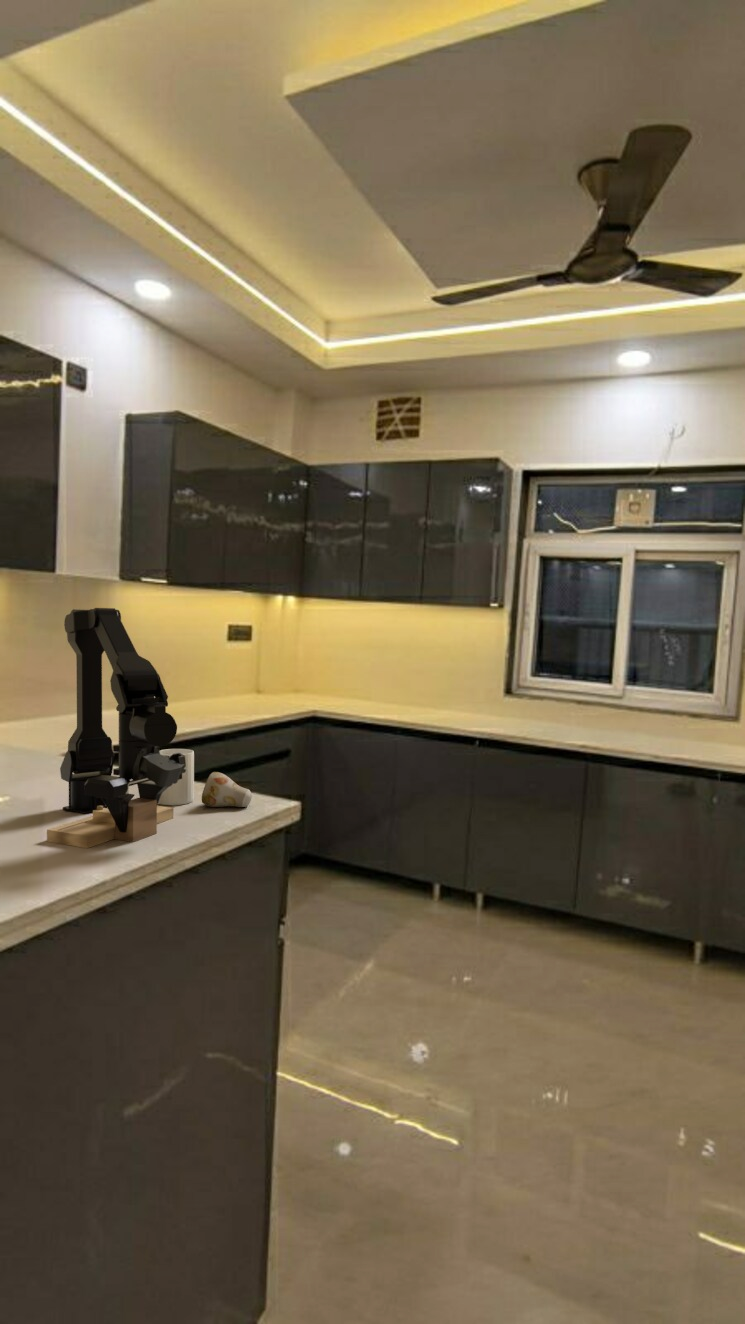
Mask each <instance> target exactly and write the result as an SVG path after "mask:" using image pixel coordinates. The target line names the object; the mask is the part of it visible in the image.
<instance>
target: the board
mask: <svg viewBox="0 0 745 1324" xmlns="http://www.w3.org/2000/svg"><path fill="white" fill-rule="evenodd" d="M171 819H172V820H173V819H174V807H170V806H165V805H162V806H161V805H157V824H161V823H163V822H167V821H169V820H171ZM112 840H116V839H115V824H111V823H105V822H98V821H93V815H90V816H89V817H84V818H81V819H77V820H75V821H71V822H67V823H65V824H62V825H57V826H54V827H51V828H48V829H46V842H50V843H54V844H55V843H56V844H62V845H66V846H67V845H68V846H73V847H78V848H83V849H89V848H92V847H95V846H98V845H100V844H103V843H106V842H109V841H112Z"/></svg>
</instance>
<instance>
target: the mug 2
mask: <svg viewBox="0 0 745 1324" xmlns="http://www.w3.org/2000/svg"><path fill="white" fill-rule="evenodd" d="M175 753H181V754H183V755H185V761H186V766H185V769H186V772H185V773H182V779H180V780H178V781H177V783H176V784H174V783H173V784H172V786H170V787H168V788H167V789H166V790H165V791H164V792H163V793H162V794H161V797H160V799H159V802H158V805H160V806H161V805H162V806H182V805H186V804H190V803H193V801H194V800H195V798H194V797H195V795H194V794H195V783H194V782H195V752H194V750H193V749H188V748H187V749H186V748H168V749H167V748H166V749H161V750H160V754H161V755H163V756H167V755H168V756H169V757H170V756H171V755H172V754H175Z"/></svg>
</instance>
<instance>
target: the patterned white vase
mask: <svg viewBox="0 0 745 1324" xmlns="http://www.w3.org/2000/svg"><path fill="white" fill-rule="evenodd" d="M252 798H253V795H252V792H251V790H250V789H248V788H245V787H242V786H240V785H238V784H237V783H236V781H233V780H232V779H231V778H230V777H229V776H227V775H226V774H224V773H222V772H219V771H213V772H211V773H210V774H209V776H208V778H207V779H206V781H205V784H204V787H203V791H202V793H201V803H202V804H204V805H205V806H208V807H211V808H220V807H237V808H240V807H245V808H247V807H249V805H250V804H251V801H252ZM249 803H250V804H249Z"/></svg>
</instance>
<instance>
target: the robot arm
mask: <svg viewBox="0 0 745 1324" xmlns="http://www.w3.org/2000/svg"><path fill="white" fill-rule="evenodd" d="M63 622H64V623H63V624H64V625H63V626H64V630H65V633H66V638H67V643H68V644H69V646H70V647H71V648H72V650H73V652H74V653H75V655H76V657H75V658H76V727H75V728H76V729H75V730H74V732H73V734H72V735H71V736H70V738H69V740H68V742H67V743H68V744H67V751H66V753H65V755H64V756H63V760H62V763H61V765H60V767H59V771H60V779H61V780H63V781H65V782H68V805H67V806H62V810H63V811H68V812H76V813H82V814H90V813H93V811H94V810H97V806H103V808H108V810H109V812H110V813H111V815H112V817H113V819H114V821H115V823H116V825H117V827H118V829H119V831H120V832H123V833H125V832H126V830H127V823H128V804H129V802H130V800H132V799H134V797H135V794H134V793H129V792H130V791H129V790H130V788H129V787H131V786H132V787H133V786H135V785H137V788H138V796H139V798H146V799H154V800H157V806H159V804H158V802H159V799H160V797H161V794H162V793H163V792H164V791H165V790H166V789H167V788H168V787H170V786H172V784H173V783H174V784H176V783H177V781H178V780H180V779H182V773H185V772H186V769H185V766H186V761H185V755H183V754H181V753H175V754H172V755H171V756H170V757H169V756H168V755H167V756H163V755H161V754H160V747H161V748H162V747H164V746H167V745H169V744H170V743H171V742H172V741H173V740H174V739H175V737H176V735H177V733H178V732H177V731H178V724H177V722H176V720H175V718H174V716H172V714H170V713H168V712H167V711H166V710H167V708H166V707H168V705H169V703H168V698H169V696H168V694H167V691H166V689H165V687H164V684H163V682H162V679H161V676H160V674H159V673H158V671H157V670H156V667H154V666H153V664H152V663H151V661H150V660H148V659H146V658H144V657H143V656H140V655H139V654H138V652H137V649H136V648H135V645H134V644H133V642H132V640H131V638H130V636H129V634H128V632H127V630H126V628H125V626H124V624H123V622H122V614H121V612H120V610H119V609H116V608H113V607H112V608H111V607H94V608H90V609H80V608H79V609H78V608H77V609H72V610H71V611H70V613H69V614H67V615H65V618H64V621H63ZM104 652H105V654H106V657H107V659H108V661H109V664H110V666H111V668H112V674H111V676H110V679H109V680H110V681H109V682H110V690H111V693H112V694H113V697H114V698H115V700H116V703H117V706H116V708H115V710H116V712H118V744H114V745H113V740H112V738H111V737H110V736H108V735H107V733H106V731H105V729H103V654H104ZM114 752H116V753H118V767H116V768H114V761H115V754H114Z"/></svg>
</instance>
